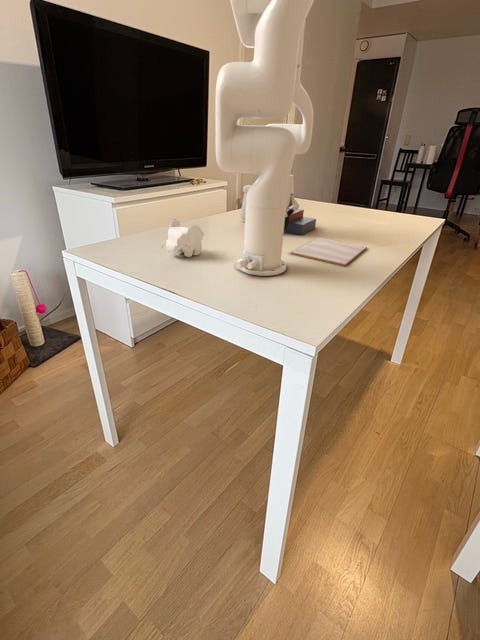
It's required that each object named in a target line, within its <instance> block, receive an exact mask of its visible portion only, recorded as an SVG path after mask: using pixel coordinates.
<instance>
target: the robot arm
mask: <svg viewBox="0 0 480 640" xmlns="http://www.w3.org/2000/svg"><path fill="white" fill-rule="evenodd" d="M314 1H315V0H229V2H230V6H231V10H232V14H233V18H234V21H235V25H236V30H237V34H238V37H239V40H240V42H241V44H242V45H243V46H244V47H246V48H248V49H249V48H252V49H254V51H253V52H254V53H253V59H252V61H232V62H227V63H225V64H223V65H222V66H221V67H220V69H219V72H218V74H217V78H216V83H215V99H214V100H215V105H214V107H215V109H214V111H215V115H214V116H215V136H214V137H215V159H216V160H215V161H216V165H217V166H218V168H219V170H221V171H223V172H226V173H232V174H249V175H255V176H256V175H257V176H258V178H257V179H256V180H255V182H254V183H252V185H250V186H251V187H250V188H249V190H248V192H247V195H246V211H245V223H244V237H243V239H244V240H243V243H244V244H243V252H242V256H241V258H240V259H238V260H237V261H235V262H234V264H233V265H234V267H235V268H236V270H239V271H240V272H243V273H245V274H249V275H253V276H259V277H261V276H262V277H270V276H278V275H280V274H282V273H284V272H285V271H286V270H287V263H286V262H285V261H284V260H283V259H282V254H283V252H282V251H283V243H284V242H283V241H284V233H285V232H284V229H285V228H287V226H288V225H289V216H290V215H291V214H292V213H294V212H295V210H297V209H300V204H299V203H298V202H297V200H296V199H295V198H294V193H295V185H294V182H295V181H294V175H293V174H292V171H293V165H294V161H295V156H296V155H304V154H305V153H307V152H308V151H309V149H310V146H311V143H312V142H311V141H312V136H313V135H312V134H313V128H314V127H313V125H314V107H313V104H312V101H311V98H310V96H309V94H308V92H307V90H305V88H304V87H303V85H302V83H301V74H302V73H301V72H302V60H303V50H304V49H303V47H304V35H305V24H306V19H307V16H308V14H309V13H310V10H311V8H312V6H313V4H314ZM293 105H294V106H295V107H296V108H297V109H298V111H300V113H301V116H302V124H300V123H299V124H298V123H268V124H266V125H243V124H238V123H239V121H240V120H241V119H281V118H284V117H286V116H288V115H289V114H290V113H291V110H292V108H293ZM289 207H290V208H291V209H290V208H289Z"/></svg>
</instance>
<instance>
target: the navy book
mask: <svg viewBox="0 0 480 640" xmlns="http://www.w3.org/2000/svg"><path fill="white" fill-rule="evenodd" d="M316 222H317V218H313V217H308V216H303V217H301V218H298V219H296V220H293V221H291V222H289V225H288V226H287V228H285V229H284V233H288V234H294V235H298V236H303V235H304V234H307V233H308V232H311V231H313V230H315V229H316V224H317V223H316Z"/></svg>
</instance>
